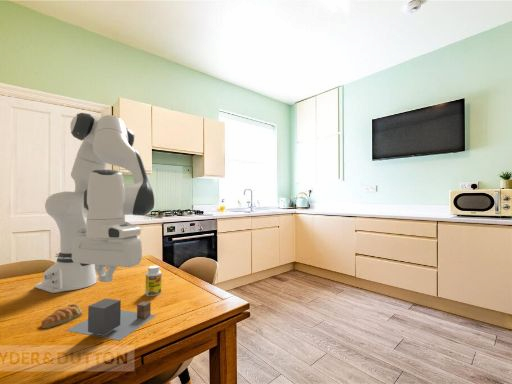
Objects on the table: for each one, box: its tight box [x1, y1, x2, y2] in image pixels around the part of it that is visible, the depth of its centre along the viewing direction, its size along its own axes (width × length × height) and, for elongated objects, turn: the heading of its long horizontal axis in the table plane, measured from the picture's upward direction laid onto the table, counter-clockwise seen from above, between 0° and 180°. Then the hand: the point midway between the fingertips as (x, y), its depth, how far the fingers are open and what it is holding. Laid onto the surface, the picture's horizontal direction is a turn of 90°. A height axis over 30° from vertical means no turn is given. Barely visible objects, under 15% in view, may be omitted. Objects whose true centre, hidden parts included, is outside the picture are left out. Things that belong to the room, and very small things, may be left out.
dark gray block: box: [87, 298, 122, 335], centre depth 66 cm, size 5×5×7 cm
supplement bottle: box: [144, 265, 163, 297], centre depth 93 cm, size 6×6×10 cm
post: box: [136, 300, 152, 319], centre depth 74 cm, size 3×3×4 cm
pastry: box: [40, 303, 83, 329], centre depth 73 cm, size 9×7×4 cm
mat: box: [65, 309, 157, 341], centre depth 71 cm, size 18×14×1 cm
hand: (105, 281), depth 66 cm, fingers closed
